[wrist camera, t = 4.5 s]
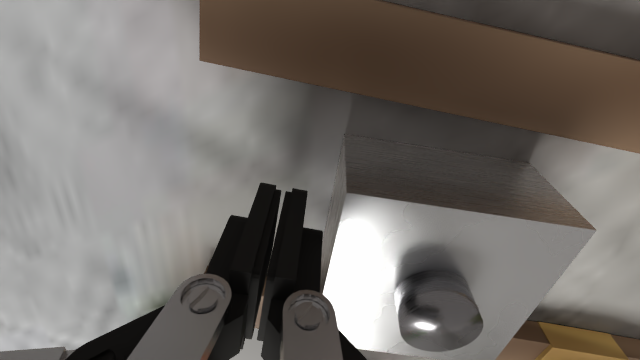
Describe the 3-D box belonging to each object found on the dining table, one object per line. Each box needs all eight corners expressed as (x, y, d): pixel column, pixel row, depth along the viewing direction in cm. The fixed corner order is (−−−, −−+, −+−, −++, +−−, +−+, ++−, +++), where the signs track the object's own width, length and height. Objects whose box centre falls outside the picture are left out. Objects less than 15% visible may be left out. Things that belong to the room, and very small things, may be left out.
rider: (458, 284, 16) (503, 399, 12) (317, 263, 16) (309, 375, 12) (526, 160, 13) (628, 262, 8) (344, 131, 12) (347, 221, 8)
